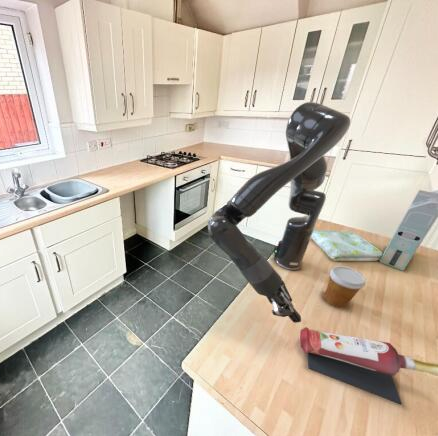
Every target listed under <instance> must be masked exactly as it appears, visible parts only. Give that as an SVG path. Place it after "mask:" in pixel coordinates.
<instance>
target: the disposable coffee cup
mask: <svg viewBox="0 0 438 436" xmlns="http://www.w3.org/2000/svg"><path fill="white" fill-rule="evenodd" d="M365 286H366V279H365V277H364V275H363V274H361V273H360V272H359V271H357V270H355V269H354V268H351V267H348V266H342V265H337V266H334V267H333V268H331V269H330V270H329V278H328V282H327V286H326V290H325V294H324V299H325V301H326V302H327V303H328V304H330V306H331V305H332V306H333V307H336V308H340V309H342V308H346V307H347V305H348V304H349V303H350V302H351V301H352V299H354V297H355V296H356V295H357V293H358V292H360V291H361V289H363V288H365Z"/></svg>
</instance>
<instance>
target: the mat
mask: <svg viewBox="0 0 438 436" xmlns="http://www.w3.org/2000/svg"><path fill="white" fill-rule="evenodd" d="M307 366H308V369H309V370H312V371H314V372H317V373H320V374H323V375H325V376H327V377H329V378H332V379H335V380H337V381H340V382H342V383H344V384H348V385H350V386H353V387H355V388H357V389H360V390H363V391H366V392H368V393H370V394H373V395H376V396H378V397H381V398H384V399H386V400H388V401H390V402H394V403H396V404H398V405H402V404H403V403H402V401H401V398H400V395H399V392H398V390H397V386H396V384H395V380H394V378H393V376H392V375H388V374H385V373H381V372H378V371H374V370H370V369H367V368H363V367H360V366H357V365H353V364H350V363H347V362H343V361H340V360H336V359H333V358H329V357H325V356H322V355H318V354H314V353H307Z"/></svg>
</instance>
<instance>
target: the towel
mask: <svg viewBox="0 0 438 436" xmlns="http://www.w3.org/2000/svg"><path fill="white" fill-rule="evenodd" d="M310 239H312V240H313V242H314V243H315V244H316V245H317V246H318V247H319V248H320V249H321V250H323V252H324V253H325V254H326V255H327V256H328V257H329V258H330V259H331V260H332V261H334V262H376V261H379V260H380V258H381V257H382V255H383V252H382V251H381V250H380V249H379V248H377V247H376V246H375V245H373V244H372V243H370V241H368V240H366V239H365V238H363V237H361V236H360V235H358V234H357V233H354V232H352V231H336V230H313V233H312V236H311V238H310Z"/></svg>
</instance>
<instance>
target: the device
mask: <svg viewBox="0 0 438 436" xmlns="http://www.w3.org/2000/svg"><path fill="white" fill-rule="evenodd" d="M437 219H438V190H432V191H427V190H422V189H418V191H417V193H416V195H415V196H414V198H413V200H412V202H411V204H410V205H409V207H408V208H407V210H406V212H405V213H404V216H403V217H402V219H401V221H400V223H399V224H398V226H397V228H396V230H395V232H394V233H393V235H392V237H391V239H390V240H389V243H388V244H387V246H386V248H385V250H384V252H382V254H383V255H382V256H380V257H379V260H378V262H379V263H381V264H383V265H386V266H388V267H392V268H394V269H396V270H399V271H402V272H404V271H405V269H406V268H407V266H408V264H409V263H410V262H411V260H412V258H413V256H414V255H415V253H416V252H417V250H418V249H419V247H420V246H421V244H422V243H423V241H424V239H425V238H426V236H427V235H428V233H429V231H430V230H431V229H432V227H433V225H434V224H435V222H436V220H437Z"/></svg>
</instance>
